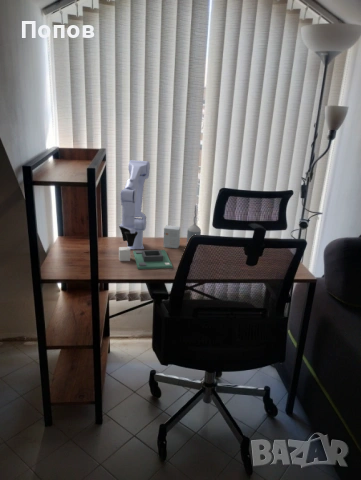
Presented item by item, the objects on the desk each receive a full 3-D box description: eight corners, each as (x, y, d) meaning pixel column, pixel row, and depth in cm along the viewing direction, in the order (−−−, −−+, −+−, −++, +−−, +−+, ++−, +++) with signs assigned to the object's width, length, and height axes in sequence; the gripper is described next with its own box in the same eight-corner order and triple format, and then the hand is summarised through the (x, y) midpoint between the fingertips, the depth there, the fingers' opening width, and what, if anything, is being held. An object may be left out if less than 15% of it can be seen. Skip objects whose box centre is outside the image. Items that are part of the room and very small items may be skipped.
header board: (133, 252, 196) (133, 246, 195) (164, 251, 200) (165, 245, 199) (137, 269, 178) (137, 262, 177) (172, 267, 181) (172, 260, 180)
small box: (179, 245, 210) (180, 226, 207) (178, 248, 205) (179, 229, 202) (164, 243, 211) (165, 224, 208) (163, 247, 206) (163, 228, 202)
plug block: (118, 257, 189) (118, 247, 187) (129, 257, 190) (129, 246, 188) (119, 261, 185) (119, 250, 184) (130, 260, 187) (130, 250, 185)
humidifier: (185, 249, 205) (189, 202, 197) (201, 250, 204) (205, 204, 196) (183, 254, 198) (186, 206, 189) (199, 256, 197) (203, 208, 188)
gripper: (115, 211, 184) (115, 239, 188) (124, 220, 171) (124, 249, 176) (130, 210, 186) (129, 237, 191) (139, 219, 174) (139, 248, 179)
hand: (127, 243), depth 183 cm, fingers open, 7 cm apart
